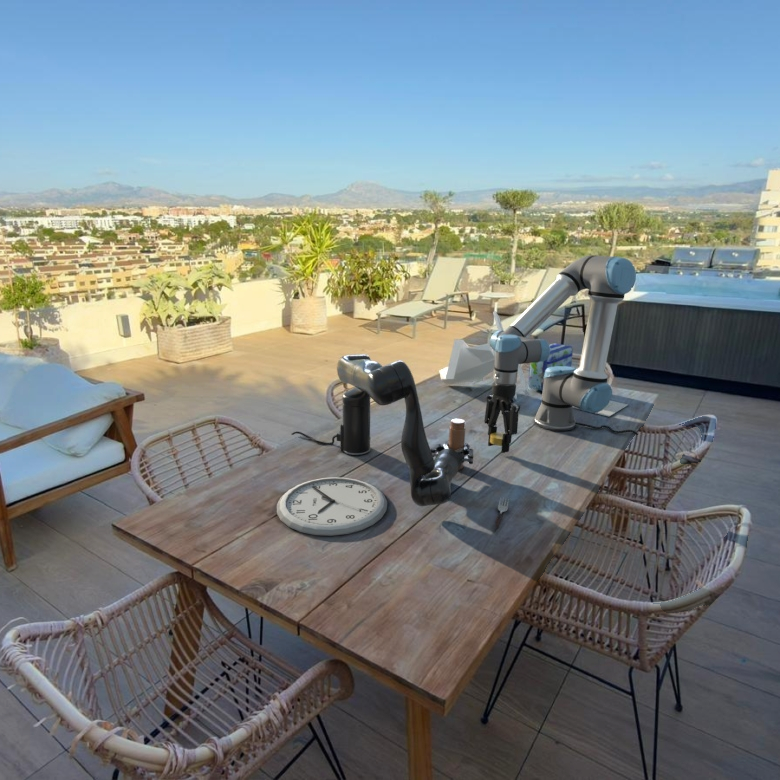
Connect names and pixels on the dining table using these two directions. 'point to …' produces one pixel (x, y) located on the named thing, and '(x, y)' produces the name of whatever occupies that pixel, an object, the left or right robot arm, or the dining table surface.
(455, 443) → the jar
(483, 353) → the white plastic object
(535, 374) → the lunch box
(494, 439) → the lid
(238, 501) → the dining table surface
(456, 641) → the dining table surface
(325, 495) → the wall clock
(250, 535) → the dining table surface
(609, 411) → the invitation card
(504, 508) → the fork
